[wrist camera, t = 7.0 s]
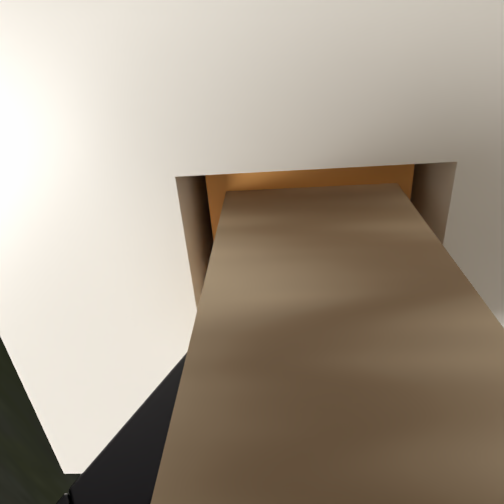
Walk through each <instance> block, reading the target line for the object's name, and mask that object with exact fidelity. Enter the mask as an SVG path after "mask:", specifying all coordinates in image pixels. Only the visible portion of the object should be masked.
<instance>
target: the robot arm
mask: <svg viewBox="0 0 504 504" xmlns="http://www.w3.org/2000/svg"><path fill="white" fill-rule="evenodd" d="M186 355H187V353H186V354H185V355H184V356H183V357H182V358H181V360H180V361H179V362H178V363H177V364H176V365H175V367H174V368H173V369H172V370H171V371H170V372H169V374H168V375H167V376H166V377H165V378H164V379H163V380H162V382H161V383H160V384H159V385H158V386H157V387H156V389H155V390H154V391H153V392H152V393H151V394H150V396H149V397H148V398H147V399H146V400H145V401H144V402H143V404H142V405H141V406H140V407H139V408H138V409H137V411H136V412H135V413H134V414H133V415H132V416H131V418H130V419H129V420H128V421H127V422H126V423H125V425H124V426H123V427H122V428H121V429H120V430H119V431H118V433H117V434H116V435H115V436H114V437H113V438H112V440H111V441H110V442H109V443H108V444H107V445H106V447H105V448H104V449H103V450H102V451H101V452H100V454H99V455H98V456H97V457H96V458H95V459H94V460H93V462H92V463H91V464H90V465H89V466H88V467H87V469H86V470H85V471H84V472H83V473H82V474H81V476H80V477H79V478H78V479H77V480H76V481H75V482H74V484H73V485H72V486H71V487H70V488H69V491H68V492H69V494H64V495H63V496H62V497H61V498H60V500H59V501H58V502H57V503H56V504H151V500H152V496H153V492H154V487H155V483H156V479H157V475H158V471H159V467H160V463H161V459H162V454H163V450H164V446H165V442H166V438H167V434H168V430H169V425H170V421H171V417H172V413H173V409H174V405H175V401H176V396H177V392H178V388H179V384H180V380H181V376H182V372H183V368H184V363H185V359H186Z"/></svg>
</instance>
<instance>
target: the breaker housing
mask: <svg viewBox="0 0 504 504" xmlns="http://www.w3.org/2000/svg"><path fill="white" fill-rule="evenodd" d="M404 164H415V166H414V174H413V182H412V190H411V198H410V201H411V202H412V204H413V205H414V207H415V208H416V209H417V211H418V212H419V213H420V215H421V216H422V217H423V219H424V220H425V222H426V223H427V224H428V226H429V227H430V228H431V230H432V231H433V232H434V234H435V235H436V237H437V238H438V239H439V241H440V242H441V243H442V245H443V246H444V247H445V249H446V250H447V252H448V253H449V254H450V256H451V257H452V258H453V260H454V261H455V262H456V264H457V265H458V267H459V268H460V269H461V271H462V272H463V273H464V275H465V276H466V277H467V279H468V280H469V281H470V283H471V284H472V286H473V287H474V288H475V290H476V291H477V292H478V294H479V295H480V296H481V298H482V299H483V301H484V302H485V303H486V305H487V306H488V307H489V309H490V310H491V311H492V313H493V314H494V316H495V317H496V318H497V320H498V321H499V322H500V324H501V325H502V326H503V328H504V0H0V336H1V338H2V341H3V343H4V345H5V347H6V349H7V351H8V353H9V356H10V358H11V360H12V362H13V364H14V366H15V369H16V371H17V373H18V375H19V377H20V379H21V382H22V384H23V386H24V388H25V390H26V392H27V395H28V397H29V399H30V401H31V403H32V405H33V408H34V410H35V412H36V414H37V416H38V418H39V420H40V423H41V425H42V427H43V429H44V431H45V433H46V436H47V438H48V440H49V442H50V444H51V446H52V449H53V451H54V453H55V455H56V457H57V459H58V462H59V464H60V466H61V468H62V470H63V472H64V474H68V473H83V472H84V471H85V470H86V469H87V467H88V466H89V465H90V464H91V463H92V462H93V460H94V459H95V458H96V457H97V456H98V455H99V454H100V452H101V451H102V450H103V449H104V448H105V447H106V445H107V444H108V443H109V442H110V441H111V440H112V438H113V437H114V436H115V435H116V434H117V433H118V431H119V430H120V429H121V428H122V427H123V426H124V425H125V423H126V422H127V421H128V420H129V419H130V418H131V416H132V415H133V414H134V413H135V412H136V411H137V409H138V408H139V407H140V406H141V405H142V404H143V402H144V401H145V400H146V399H147V398H148V397H149V396H150V394H151V393H152V392H153V391H154V390H155V389H156V387H157V386H158V385H159V384H160V383H161V382H162V380H163V379H164V378H165V377H166V376H167V375H168V374H169V372H170V371H171V370H172V369H173V368H174V367H175V365H176V364H177V363H178V362H179V361H180V360H181V358H182V357H183V356H184V355H185V354H186V353H187V351H188V347H189V343H190V339H191V334H192V330H193V326H194V322H195V318H196V314H197V310H198V305H199V301H200V297H201V293H202V289H203V285H204V281H205V277H206V272H207V268H208V264H209V260H210V256H211V252H212V248H213V243H214V241H213V233H212V225H211V217H210V210H209V202H208V194H207V186H206V178H205V175H216V174H235V173H254V172H272V171H291V170H310V169H329V168H348V167H366V166H385V165H404Z"/></svg>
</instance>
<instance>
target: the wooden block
mask: <svg viewBox="0 0 504 504" xmlns="http://www.w3.org/2000/svg"><path fill="white" fill-rule="evenodd" d="M151 504H504V328H503V326H502V325H501V324H500V322H499V321H498V320H497V318H496V317H495V316H494V314H493V313H492V311H491V310H490V309H489V307H488V306H487V305H486V303H485V302H484V301H483V299H482V298H481V296H480V295H479V294H478V292H477V291H476V290H475V288H474V287H473V286H472V284H471V283H470V281H469V280H468V279H467V277H466V276H465V275H464V273H463V272H462V271H461V269H460V268H459V267H458V265H457V264H456V262H455V261H454V260H453V258H452V257H451V256H450V254H449V253H448V252H447V250H446V249H445V247H444V246H443V245H442V243H441V242H440V241H439V239H438V238H437V237H436V235H435V234H434V232H433V231H432V230H431V228H430V227H429V226H428V224H427V223H426V222H425V220H424V219H423V217H422V216H421V215H420V213H419V212H418V211H417V209H416V208H415V207H414V205H413V204H412V202H411V201H410V200H409V198H408V197H407V196H406V194H405V193H404V192H403V190H402V189H401V187H400V186H399V185H398V183H386V184H365V185H345V186H324V187H303V188H283V189H262V190H242V191H226V194H225V198H224V202H223V206H222V210H221V214H220V219H219V223H218V227H217V231H216V235H215V239H214V243H213V248H212V252H211V256H210V260H209V264H208V268H207V272H206V277H205V281H204V285H203V289H202V293H201V297H200V301H199V305H198V310H197V314H196V318H195V322H194V326H193V330H192V334H191V339H190V343H189V347H188V351H187V355H186V359H185V363H184V368H183V372H182V376H181V380H180V384H179V388H178V392H177V396H176V401H175V405H174V409H173V413H172V417H171V421H170V425H169V430H168V434H167V438H166V442H165V446H164V450H163V454H162V459H161V463H160V467H159V471H158V475H157V479H156V483H155V487H154V492H153V496H152V500H151Z"/></svg>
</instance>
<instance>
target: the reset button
mask: <svg viewBox="0 0 504 504" xmlns="http://www.w3.org/2000/svg"><path fill="white" fill-rule="evenodd" d="M414 166H415V164H404V165H385V166H366V167H348V168H329V169H310V170H291V171H272V172H254V173H235V174H216V175H205V178H206V186H207V194H208V202H209V210H210V217H211V225H212V233H213V241H214V239H215V235H216V231H217V227H218V223H219V219H220V214H221V210H222V206H223V202H224V198H225V194H226V191H242V190H262V189H283V188H303V187H324V186H345V185H365V184H386V183H398V185H399V186H400V187H401V189H402V190H403V192H404V193H405V194H406V196H407V197H408V198H409V200H410V198H411V190H412V182H413V174H414Z"/></svg>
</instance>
